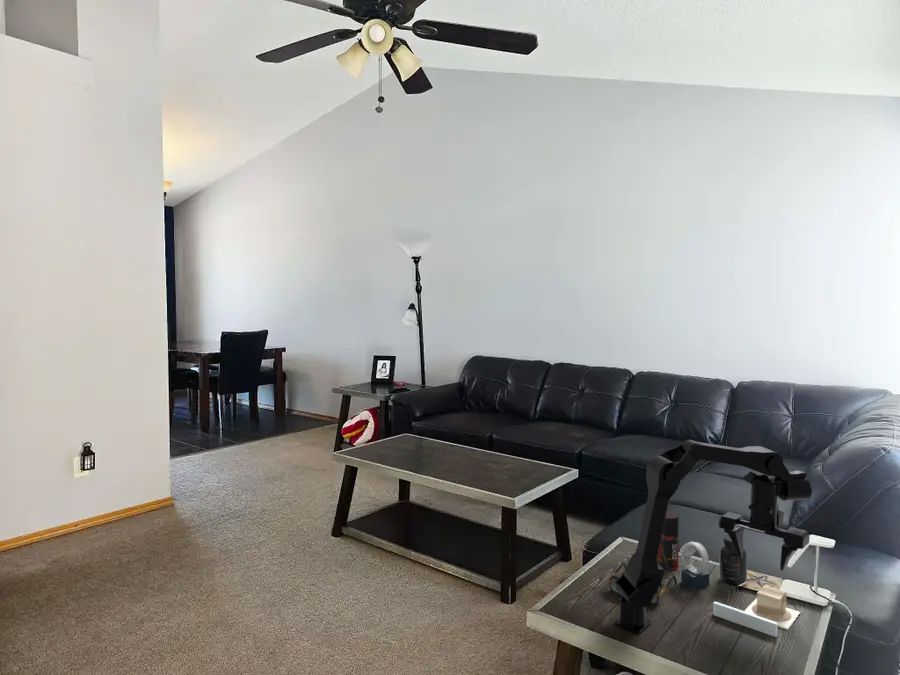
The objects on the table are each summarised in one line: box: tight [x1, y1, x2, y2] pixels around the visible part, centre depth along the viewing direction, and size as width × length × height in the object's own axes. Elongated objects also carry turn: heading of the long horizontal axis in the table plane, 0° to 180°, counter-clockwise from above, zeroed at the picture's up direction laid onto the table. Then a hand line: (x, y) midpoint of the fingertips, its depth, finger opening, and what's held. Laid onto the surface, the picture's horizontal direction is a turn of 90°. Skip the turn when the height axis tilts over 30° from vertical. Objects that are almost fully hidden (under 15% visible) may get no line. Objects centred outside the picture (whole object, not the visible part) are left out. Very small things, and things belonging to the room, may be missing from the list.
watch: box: [679, 541, 710, 590], centre depth 161 cm, size 6×8×11 cm
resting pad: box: [744, 597, 802, 631], centre depth 146 cm, size 10×10×1 cm
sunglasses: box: [606, 562, 678, 605], centre depth 160 cm, size 14×15×5 cm
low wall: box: [712, 601, 779, 638], centre depth 141 cm, size 1×14×3 cm, turn 45°
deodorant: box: [657, 510, 680, 571], centre depth 172 cm, size 6×6×15 cm
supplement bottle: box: [718, 534, 748, 587], centre depth 162 cm, size 7×7×12 cm
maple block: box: [756, 584, 787, 620], centre depth 145 cm, size 5×5×5 cm
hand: (761, 564), depth 145 cm, fingers open, 9 cm apart
